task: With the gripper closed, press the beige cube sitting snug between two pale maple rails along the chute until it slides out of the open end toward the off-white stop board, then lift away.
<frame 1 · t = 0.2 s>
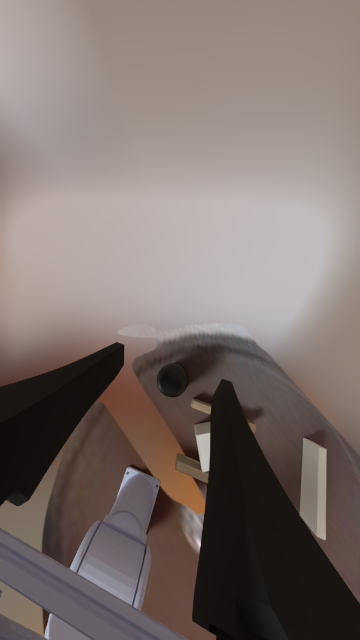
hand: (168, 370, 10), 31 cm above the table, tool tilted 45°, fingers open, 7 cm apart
chute: (212, 438, 34), on the table
stop board: (305, 475, 32), on the table
supplement bottle: (174, 377, 39), on the table
beige cube: (208, 436, 34), on the table
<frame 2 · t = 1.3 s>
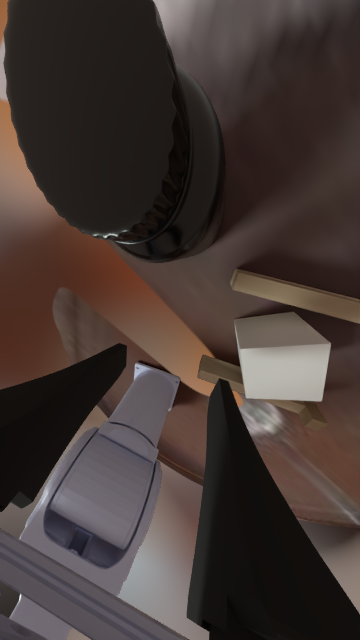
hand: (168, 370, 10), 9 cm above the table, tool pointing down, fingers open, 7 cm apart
chute: (271, 340, 17), on the table
supplement bottle: (187, 219, 14), on the table
beige cube: (262, 336, 17), on the table
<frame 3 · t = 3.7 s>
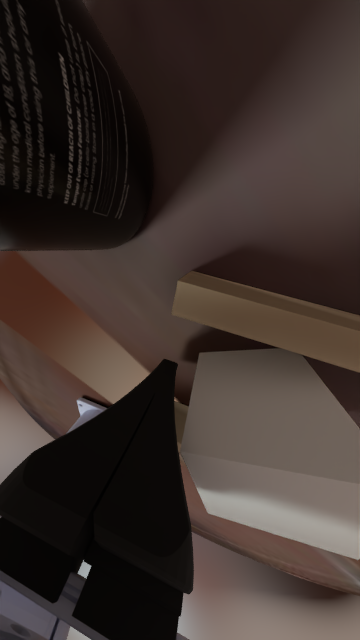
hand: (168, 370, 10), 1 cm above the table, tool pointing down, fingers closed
chute: (259, 387, 11), on the table
supplement bottle: (98, 178, 8), on the table
beige cube: (245, 380, 11), on the table, touching gripper
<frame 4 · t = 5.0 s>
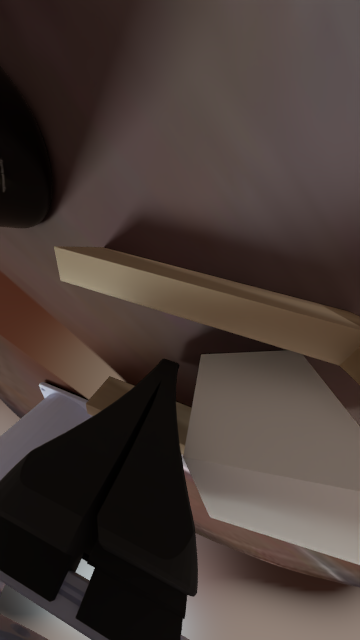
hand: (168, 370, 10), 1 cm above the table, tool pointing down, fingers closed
chute: (186, 362, 11), on the table
supplement bottle: (10, 161, 8), on the table
beige cube: (247, 382, 11), on the table, touching gripper
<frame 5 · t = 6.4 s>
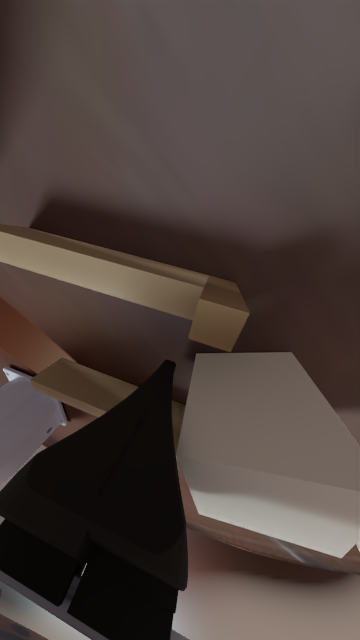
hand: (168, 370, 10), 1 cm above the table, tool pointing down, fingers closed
chute: (121, 339, 12), on the table
beige cube: (240, 382, 11), on the table, touching gripper
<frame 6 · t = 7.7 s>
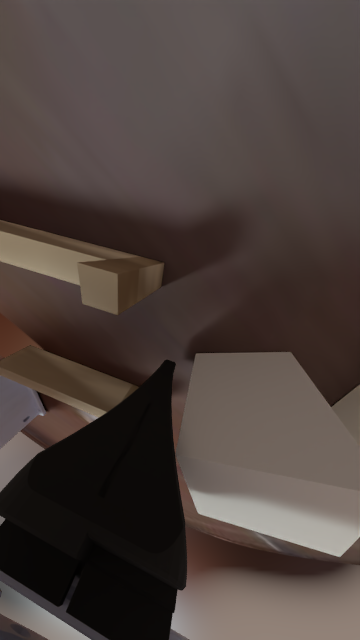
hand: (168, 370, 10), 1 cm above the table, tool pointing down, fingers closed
chute: (77, 324, 12), on the table
stop board: (339, 413, 10), on the table
beige cube: (239, 382, 11), on the table, touching gripper
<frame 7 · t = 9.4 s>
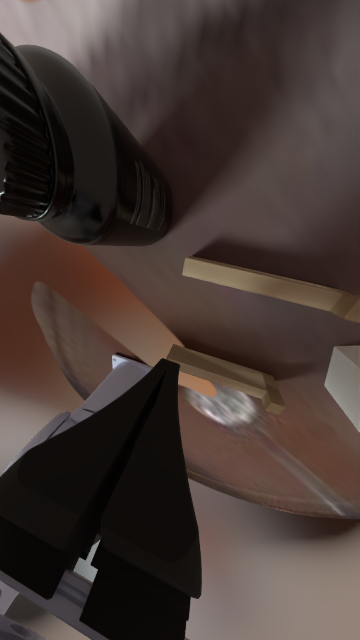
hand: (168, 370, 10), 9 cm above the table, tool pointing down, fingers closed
chute: (234, 327, 17), on the table
supplement bottle: (142, 208, 15), on the table
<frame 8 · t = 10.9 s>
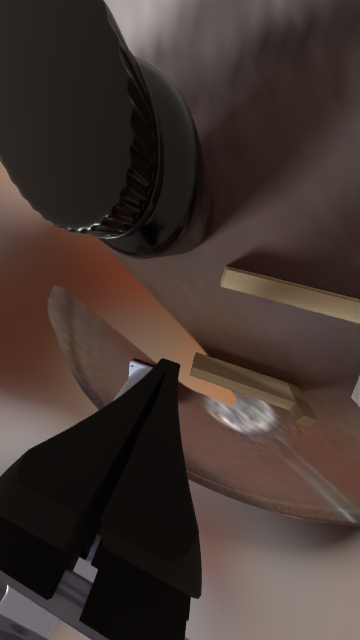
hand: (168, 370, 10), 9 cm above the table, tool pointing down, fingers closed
chute: (263, 338, 17), on the table
supplement bottle: (177, 216, 14), on the table
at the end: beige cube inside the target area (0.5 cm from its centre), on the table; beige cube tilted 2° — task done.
